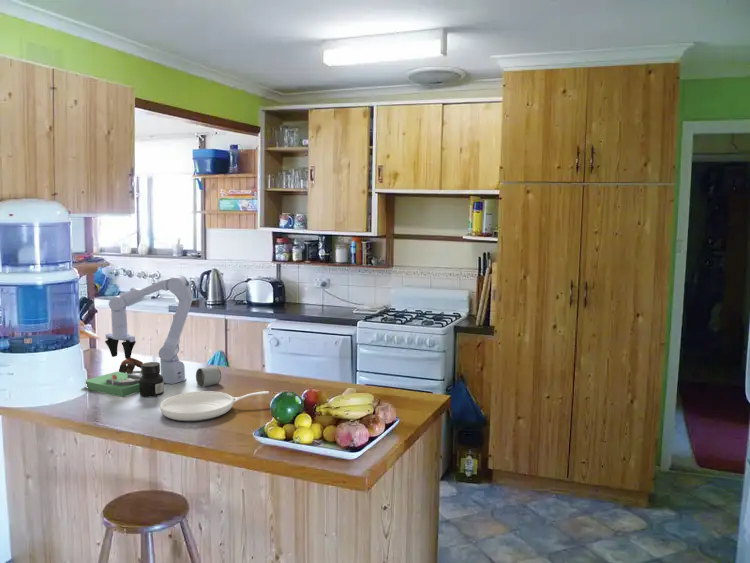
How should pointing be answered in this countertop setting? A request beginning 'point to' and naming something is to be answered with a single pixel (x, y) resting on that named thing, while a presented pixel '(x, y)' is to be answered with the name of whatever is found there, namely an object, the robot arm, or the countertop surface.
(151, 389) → the ink bottle
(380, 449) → the countertop surface
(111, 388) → the mat
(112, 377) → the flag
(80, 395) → the countertop surface
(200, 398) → the pan
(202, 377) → the ceramic mug
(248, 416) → the countertop surface
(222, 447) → the countertop surface
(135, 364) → the pottery mug
